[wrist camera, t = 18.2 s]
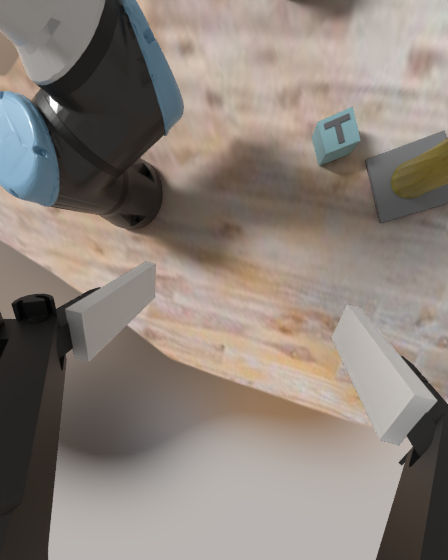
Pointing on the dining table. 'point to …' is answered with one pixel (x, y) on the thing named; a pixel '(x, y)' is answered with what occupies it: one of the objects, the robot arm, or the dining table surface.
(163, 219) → the dining table surface
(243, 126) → the dining table surface
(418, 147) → the slate mat
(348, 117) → the letter cube
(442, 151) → the vase
